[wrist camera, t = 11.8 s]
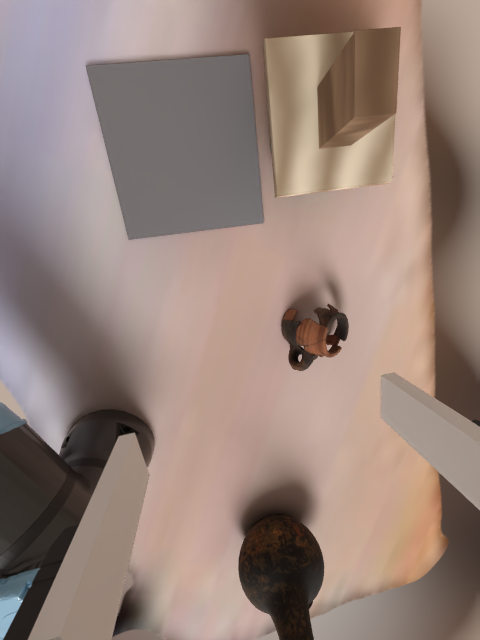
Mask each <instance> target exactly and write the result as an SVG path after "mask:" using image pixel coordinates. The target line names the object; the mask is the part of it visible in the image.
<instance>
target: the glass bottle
mask: <svg viewBox="0 0 480 640" xmlns="http://www.w3.org/2000/svg"><path fill="white" fill-rule="evenodd" d="M323 577H324V561H323V556H322V552H321V549H320V546H319V544H318V542H317V540H316V539H315V537H314V536H313V534H312V533H311V532H310V530H309V529H308V528H307V527H306V526H304V525H303V524H302V523H301V522H299V521H298V520H296V519H294V518H292V517H289V516H285V515H273V516H269V517H266V518H264V519H262V520H261V521H259V522H258V523H256V524H255V525H254V526H253V527H252V528H251V529H250V531H249V532H248V533H247V535H246V537H245V539H244V541H243V544H242V547H241V550H240V555H239V578H240V582H241V585H242V588H243V590H244V592H245V594H246V596H247V598H248V599H249V601H250V602H251V603H252V604H253V605H254V606H255V607H256V608H257V609H259V610H261V611H262V612H264V613H267V614H270V616H271V618H272V620H273V622H274V624H275V627H276V630H277V633H278V636H279V639H280V640H314V638H313V633H312V628H311V623H310V615H309V609H310V607H311V605H312V603H313V600H314V599H315V598H316V596H317V594H318V592H319V590H320V588H321V586H322V582H323Z"/></svg>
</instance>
